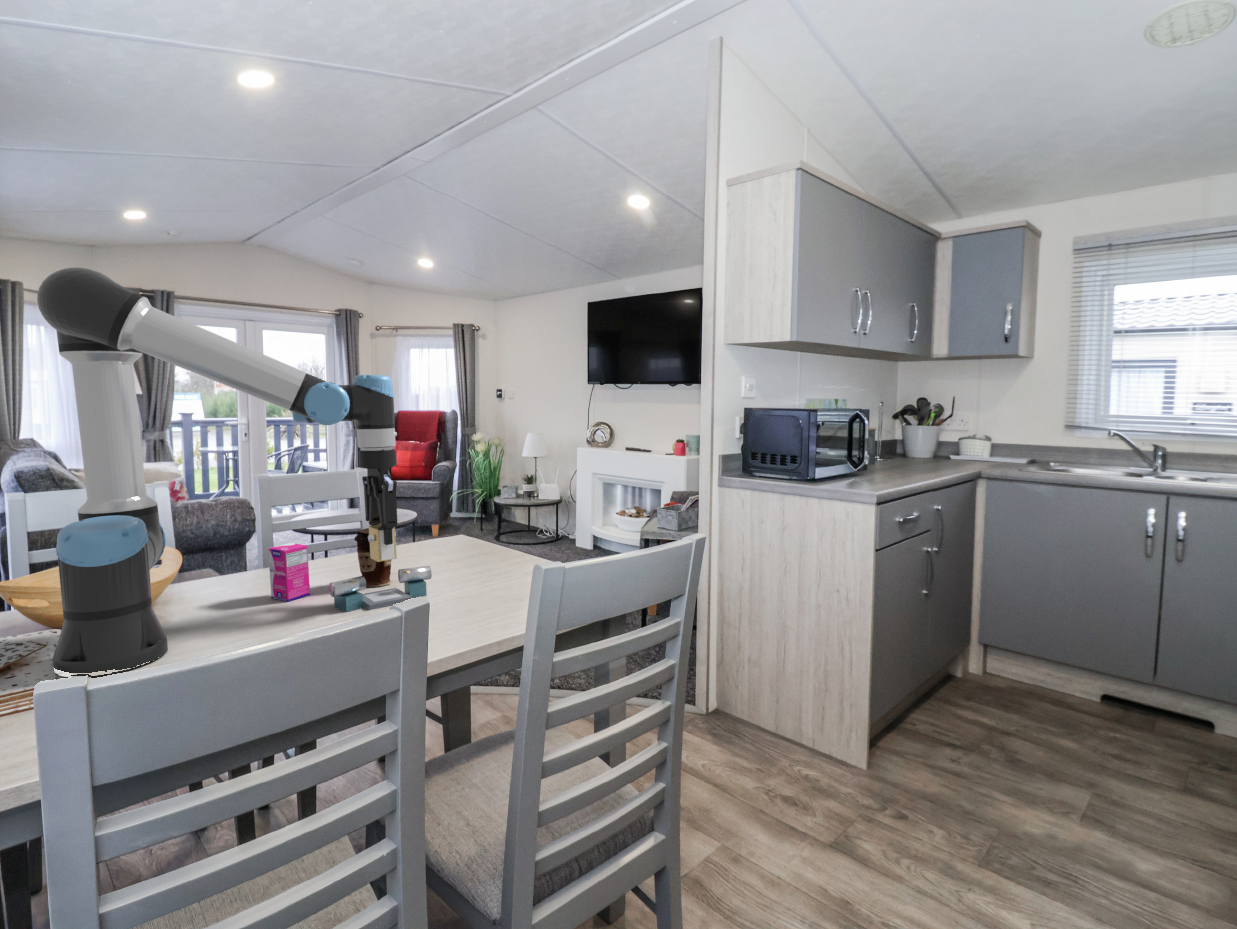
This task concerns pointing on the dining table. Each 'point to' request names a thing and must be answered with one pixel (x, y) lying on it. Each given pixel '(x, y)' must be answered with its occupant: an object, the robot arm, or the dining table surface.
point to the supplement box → (289, 572)
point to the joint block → (378, 543)
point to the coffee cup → (371, 562)
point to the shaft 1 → (348, 593)
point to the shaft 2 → (415, 580)
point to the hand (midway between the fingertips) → (383, 556)
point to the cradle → (384, 598)
